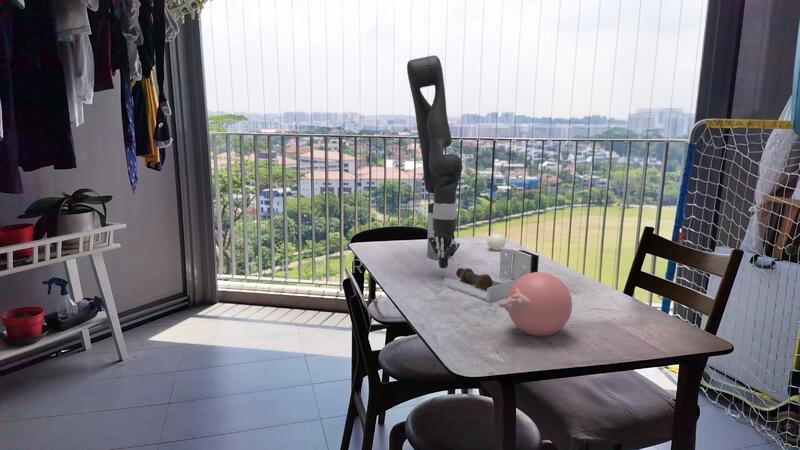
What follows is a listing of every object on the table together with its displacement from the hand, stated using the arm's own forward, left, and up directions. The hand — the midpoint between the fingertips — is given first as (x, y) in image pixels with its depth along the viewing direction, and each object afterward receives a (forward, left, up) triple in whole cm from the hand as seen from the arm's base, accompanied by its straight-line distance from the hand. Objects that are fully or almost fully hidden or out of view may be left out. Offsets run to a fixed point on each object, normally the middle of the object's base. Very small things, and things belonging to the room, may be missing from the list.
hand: (443, 267), depth 175 cm
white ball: (-42, -15, -4) cm, 45 cm away
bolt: (0, +13, -3) cm, 13 cm away
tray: (0, +15, -3) cm, 16 cm away
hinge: (-17, +17, -4) cm, 25 cm away
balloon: (+15, +47, -4) cm, 50 cm away
